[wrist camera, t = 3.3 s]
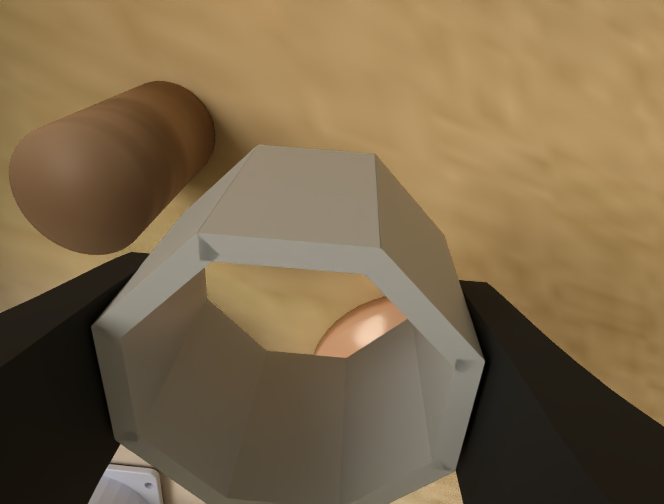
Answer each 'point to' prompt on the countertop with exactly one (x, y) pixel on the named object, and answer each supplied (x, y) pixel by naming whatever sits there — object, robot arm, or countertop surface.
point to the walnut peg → (111, 166)
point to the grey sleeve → (290, 368)
